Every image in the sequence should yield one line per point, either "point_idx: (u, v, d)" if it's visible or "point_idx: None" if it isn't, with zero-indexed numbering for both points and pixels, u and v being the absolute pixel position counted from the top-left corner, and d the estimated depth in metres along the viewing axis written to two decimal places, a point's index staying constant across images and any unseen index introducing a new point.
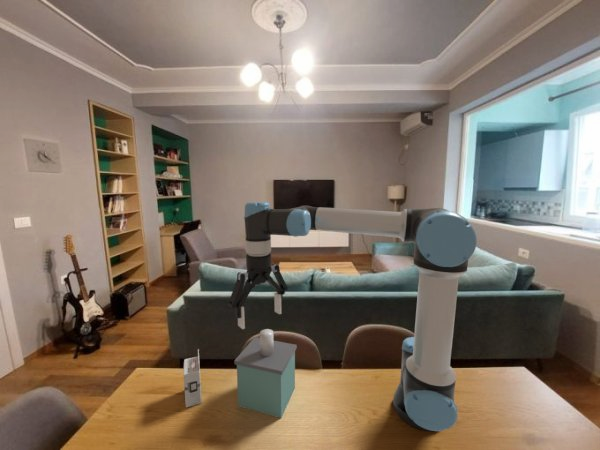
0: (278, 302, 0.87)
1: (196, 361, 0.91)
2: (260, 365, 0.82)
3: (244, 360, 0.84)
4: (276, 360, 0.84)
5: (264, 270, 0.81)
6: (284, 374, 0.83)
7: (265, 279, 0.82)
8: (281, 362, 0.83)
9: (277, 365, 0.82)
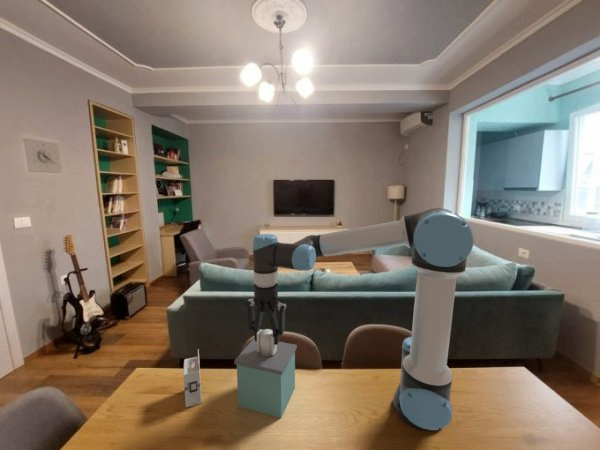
0: None
1: (196, 361, 0.91)
2: (260, 365, 0.82)
3: (244, 360, 0.84)
4: (276, 360, 0.84)
5: (269, 298, 0.84)
6: (284, 374, 0.83)
7: None
8: (281, 362, 0.83)
9: (277, 365, 0.82)
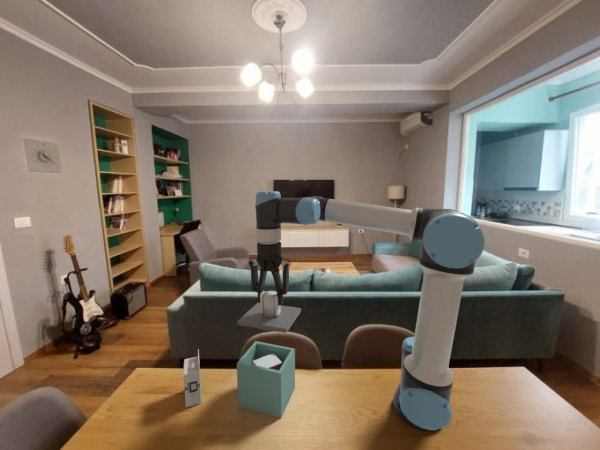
0: None
1: (196, 361, 0.91)
2: (264, 324, 0.79)
3: (247, 320, 0.82)
4: (280, 320, 0.82)
5: (272, 257, 0.82)
6: (284, 374, 0.83)
7: None
8: (286, 321, 0.81)
9: (282, 324, 0.79)
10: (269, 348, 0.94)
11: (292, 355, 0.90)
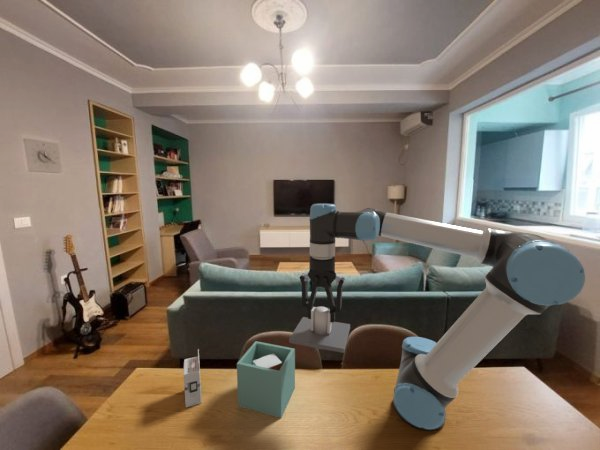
0: None
1: (196, 361, 0.91)
2: (318, 343, 0.76)
3: (299, 338, 0.78)
4: (334, 338, 0.78)
5: (326, 272, 0.78)
6: (284, 374, 0.83)
7: None
8: (340, 340, 0.77)
9: (337, 343, 0.76)
10: (269, 348, 0.94)
11: (292, 355, 0.90)
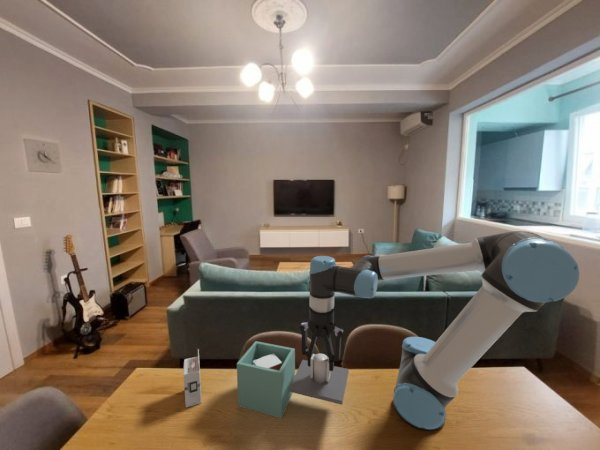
0: None
1: (196, 361, 0.91)
2: (318, 393, 0.78)
3: (299, 387, 0.81)
4: (333, 387, 0.81)
5: (325, 323, 0.80)
6: (284, 374, 0.83)
7: None
8: (339, 390, 0.80)
9: (335, 394, 0.78)
10: (269, 348, 0.94)
11: (292, 355, 0.90)
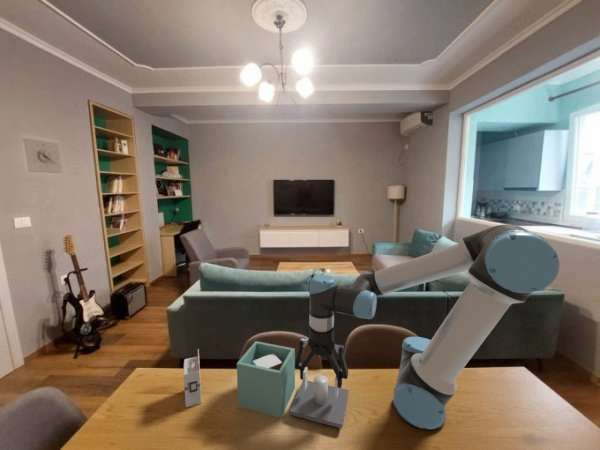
0: (335, 385, 0.82)
1: (196, 361, 0.91)
2: (318, 417, 0.79)
3: (300, 410, 0.82)
4: (333, 410, 0.82)
5: (324, 343, 0.81)
6: (284, 374, 0.83)
7: None
8: (339, 413, 0.81)
9: (336, 417, 0.79)
10: (269, 348, 0.94)
11: (292, 355, 0.90)
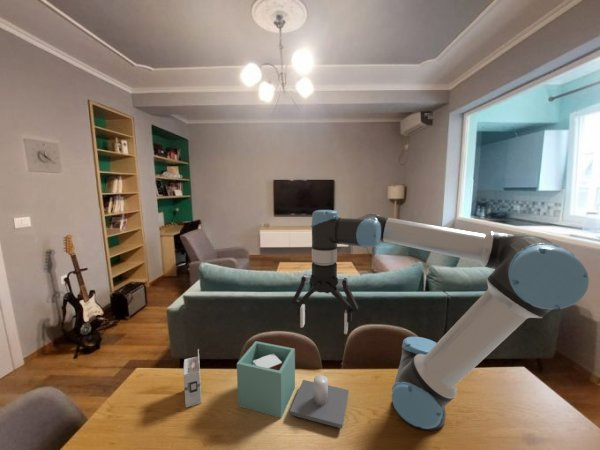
0: None
1: (196, 361, 0.91)
2: (318, 417, 0.79)
3: (300, 410, 0.82)
4: (333, 410, 0.82)
5: (327, 280, 0.79)
6: (284, 374, 0.83)
7: (328, 290, 0.80)
8: (339, 413, 0.81)
9: (336, 417, 0.79)
10: (269, 348, 0.94)
11: (292, 355, 0.90)
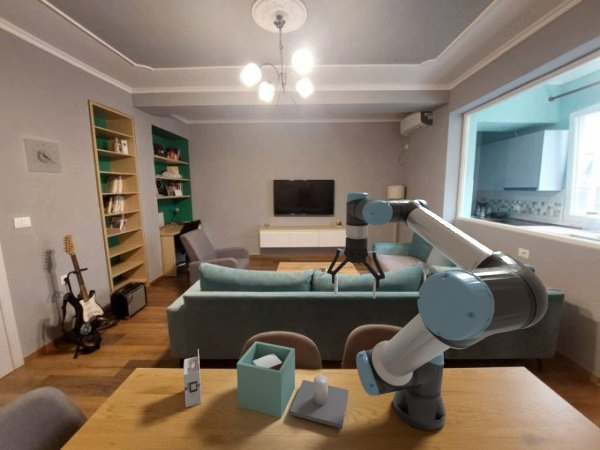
0: (373, 287, 0.93)
1: (196, 361, 0.91)
2: (318, 417, 0.79)
3: (300, 410, 0.82)
4: (333, 410, 0.82)
5: (359, 252, 0.93)
6: (284, 374, 0.83)
7: (359, 260, 0.93)
8: (339, 413, 0.81)
9: (336, 417, 0.79)
10: (269, 348, 0.94)
11: (292, 355, 0.90)
